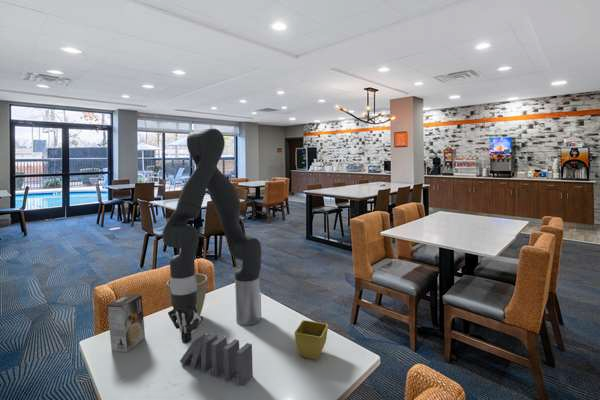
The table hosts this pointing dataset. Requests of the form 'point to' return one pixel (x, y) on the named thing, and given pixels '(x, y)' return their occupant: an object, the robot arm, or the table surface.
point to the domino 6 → (244, 364)
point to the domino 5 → (230, 360)
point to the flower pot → (311, 338)
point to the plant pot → (201, 291)
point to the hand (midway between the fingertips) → (186, 342)
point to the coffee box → (126, 322)
